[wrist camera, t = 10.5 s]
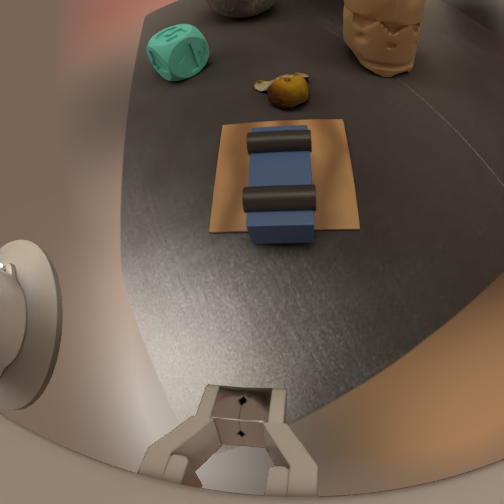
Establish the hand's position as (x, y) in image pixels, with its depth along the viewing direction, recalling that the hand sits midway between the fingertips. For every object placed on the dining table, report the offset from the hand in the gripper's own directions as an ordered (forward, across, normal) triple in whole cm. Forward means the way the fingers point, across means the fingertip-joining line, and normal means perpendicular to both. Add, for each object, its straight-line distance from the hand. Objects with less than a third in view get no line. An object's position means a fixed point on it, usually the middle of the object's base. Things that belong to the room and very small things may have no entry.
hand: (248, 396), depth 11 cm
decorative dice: (+47, +17, -21) cm, 54 cm away
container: (+46, -17, -22) cm, 54 cm away
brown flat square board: (+29, 0, -4) cm, 29 cm away
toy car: (+19, 0, +1) cm, 19 cm away
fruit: (+39, -1, -14) cm, 42 cm away
